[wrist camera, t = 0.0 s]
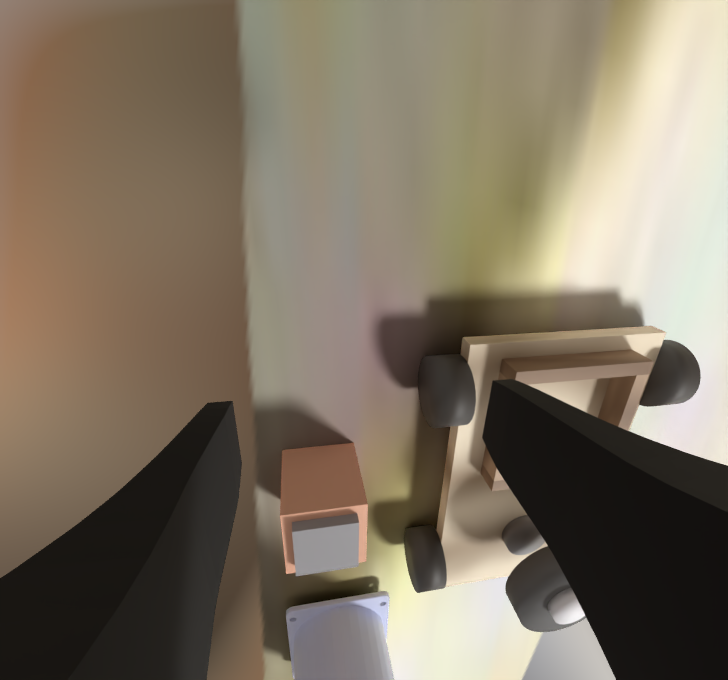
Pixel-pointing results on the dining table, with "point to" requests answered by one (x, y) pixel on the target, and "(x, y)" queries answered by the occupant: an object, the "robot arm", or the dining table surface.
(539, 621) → the spare wheel
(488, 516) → the chassis
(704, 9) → the dining table surface
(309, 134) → the dining table surface
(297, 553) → the orange rectangular block
